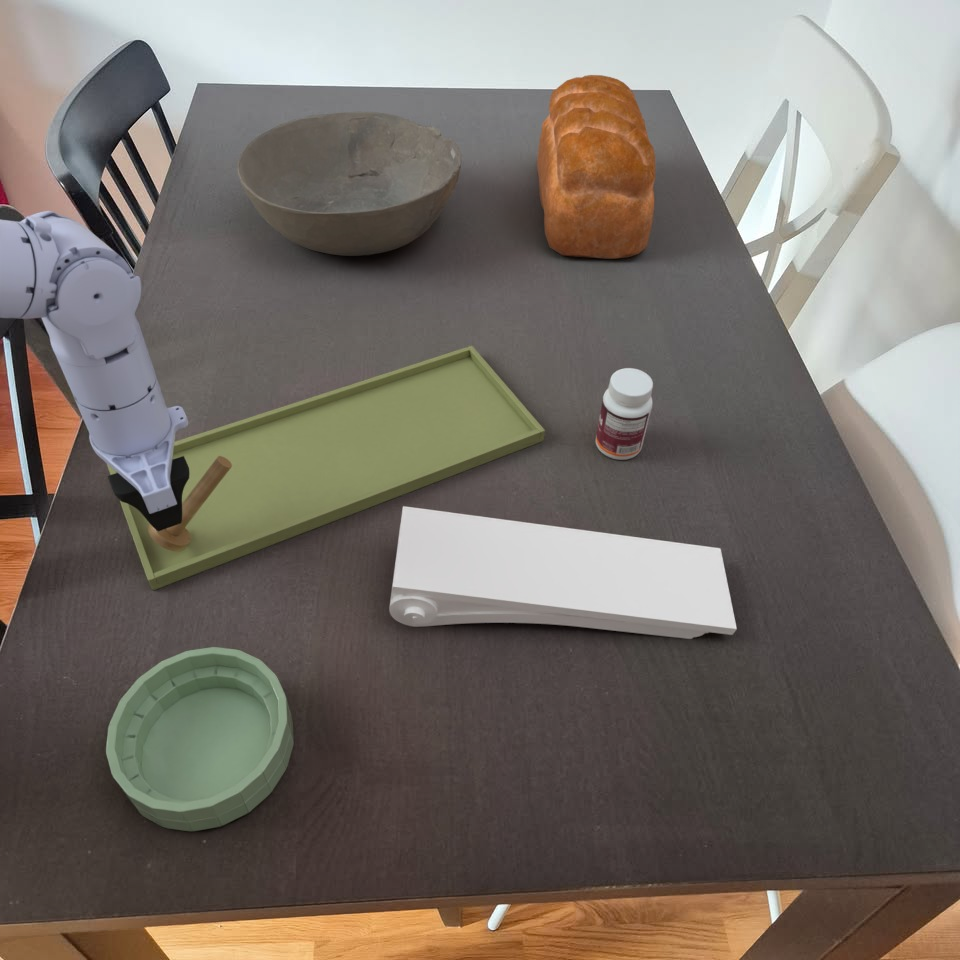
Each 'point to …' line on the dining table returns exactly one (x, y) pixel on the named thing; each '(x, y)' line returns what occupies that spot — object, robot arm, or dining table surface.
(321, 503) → the serving tray
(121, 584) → the dining table surface
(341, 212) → the bowl
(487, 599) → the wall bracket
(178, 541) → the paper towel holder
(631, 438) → the pill bottle
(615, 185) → the bread
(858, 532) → the dining table surface
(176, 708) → the shallow round dish
